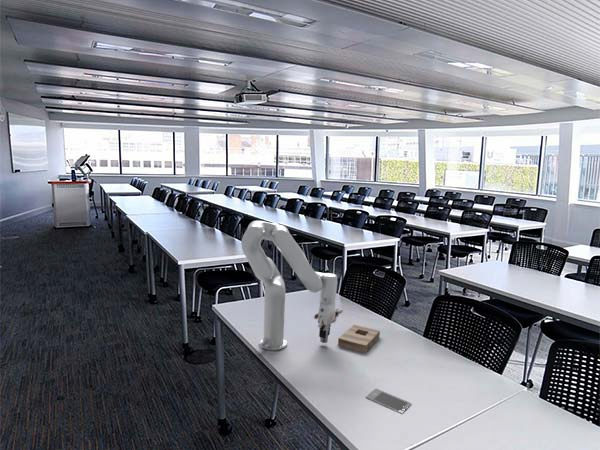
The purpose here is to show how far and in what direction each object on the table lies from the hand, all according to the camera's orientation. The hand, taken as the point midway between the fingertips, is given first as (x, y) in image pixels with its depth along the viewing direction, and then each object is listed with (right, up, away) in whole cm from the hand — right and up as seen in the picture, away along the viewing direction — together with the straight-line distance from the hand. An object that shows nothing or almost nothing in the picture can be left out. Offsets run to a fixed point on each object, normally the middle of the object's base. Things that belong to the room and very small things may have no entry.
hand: (324, 335), depth 195 cm
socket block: (+18, -4, +6) cm, 19 cm away
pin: (0, -3, 0) cm, 3 cm away
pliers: (+7, 0, +37) cm, 38 cm away
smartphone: (+21, -13, -43) cm, 50 cm away
